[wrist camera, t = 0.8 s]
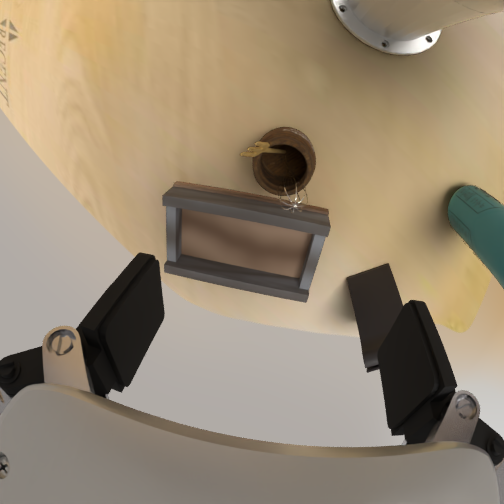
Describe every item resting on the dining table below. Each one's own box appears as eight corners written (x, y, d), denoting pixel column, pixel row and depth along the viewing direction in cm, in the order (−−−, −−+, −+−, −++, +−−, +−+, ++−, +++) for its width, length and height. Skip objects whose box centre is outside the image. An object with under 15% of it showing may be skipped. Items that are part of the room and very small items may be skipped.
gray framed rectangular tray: (176, 181, 32) (162, 192, 29) (328, 209, 31) (331, 224, 28) (176, 257, 38) (164, 274, 35) (305, 284, 37) (305, 304, 34)
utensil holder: (280, 189, 31) (270, 240, 21) (245, 144, 29) (214, 173, 19) (324, 160, 28) (339, 198, 18) (289, 112, 26) (284, 121, 16)
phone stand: (398, 309, 37) (417, 374, 27) (361, 321, 39) (371, 388, 29) (388, 262, 33) (414, 329, 23) (346, 276, 35) (358, 347, 25)
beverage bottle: (436, 226, 30) (516, 345, 13) (445, 175, 26) (554, 273, 9) (474, 227, 28) (555, 333, 11) (483, 180, 25) (587, 270, 8)
